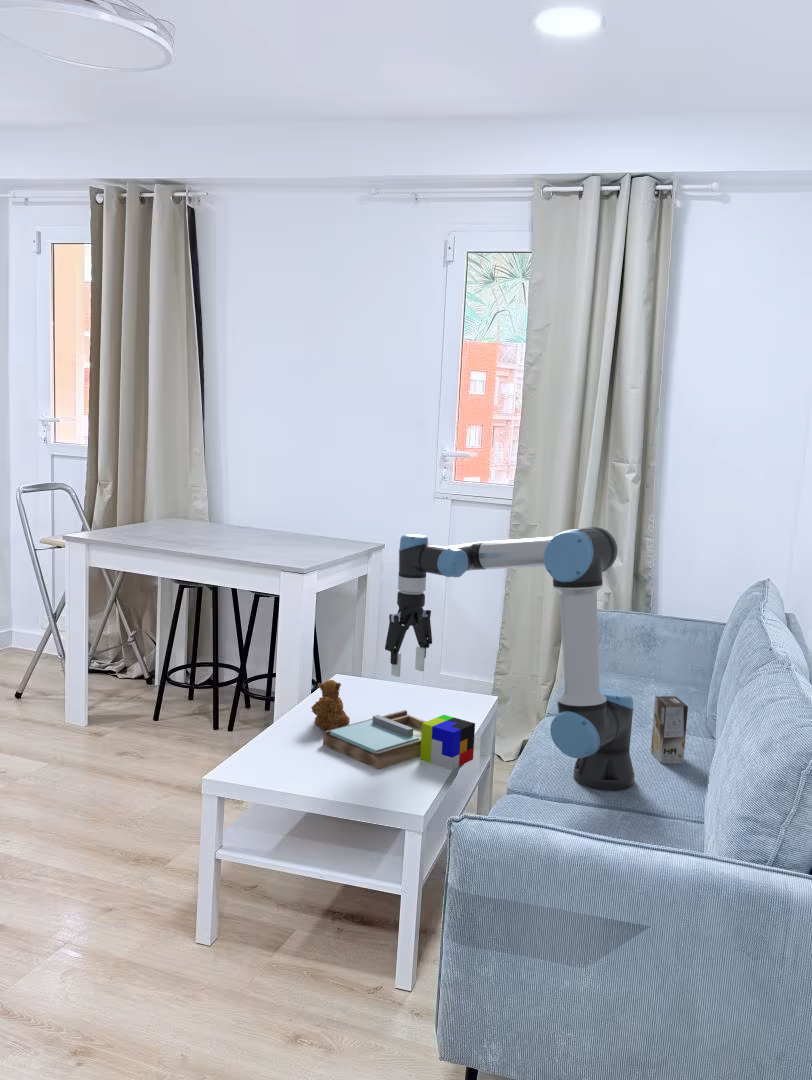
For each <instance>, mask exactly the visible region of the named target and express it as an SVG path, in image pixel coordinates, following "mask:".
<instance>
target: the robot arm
mask: <svg viewBox="0 0 812 1080" xmlns="http://www.w3.org/2000/svg"><path fill="white" fill-rule="evenodd" d="M617 557H618V544H617V541H616V539H615V537H614V536H613V534H611V533H610V532H609V531H608V530H607V529H605V528H601V527H598V526H588V527H583V528H581V527H580V528H576V529H575V528H574V529H567V530H564V531H562V532H560V533H558V534H555V535H554V536H545V537H534V538H533V537H532V538H531V537H530V538H520V539H519V538H517V539H505V540H503V539H501V540H490V541H489V540H488V541H479V540H478V541H476V540H475V541H469V542H466V543H459V544H453V545H447V546H443V545H435V544H430V543H429V539H428V536H427V535H424V534H418V533H417V534H416V533H409V534H407V533H406V534H403V535H402V536H401V537H400V540H399V549H398V578H397V590H398V592H397V595H396V597H397V599H396V601H397V602H396V604H397V606H398V610H397V613H395V614H393V613H390V614H389V615H388V617H389V619H388V620H389V623H388V624H389V625H388V628H387V636H386V640H385V646H384V650H385V651H388V652H390V658H389V659H390V660H389V661H390V662H389V663H390V664H391V671H390V672H391V673H390V675H391V676H394V677H396V678H400V677H401V668H402V667H401V663H402V652H400V649H401V646H402V644H403V641H404V638H405V636H406V633H407V631H408V630H409V629H410V627H413V631H414V634H415V638H416V641H417V644H418V645H417V646H415V647H416V648H415V665H414V670H416V671H419V672H424V671H425V659H426V657H427V649H429V648H430V646H431V645H432V644H433V636H432V625H431V614H432V610H431V609H427V608H424V607H425V603H426V593H425V591H426V590H427V589H426V586H427V584H426V583H427V573H428V574H431V575H432V574H434V575H438V576H444V577H447V578H460V577H462V576H463V574H464V573H466V572H467V571H480V570H495V569H496V570H497V569H499V570H500V569H519V568H521V569H523V568H542V567H544V568H545V570H546V572H548V574H549V575H550V577H551V578H552V585H553V586H552V587H553V589H555V590H556V591H557V592H558V593H559V599H560V600H559V601H560V602H559V603H560V604H559V605H560V630H561V655H562V656H561V657H562V658H561V659H562V660H561V661H562V684H563V685H562V686H563V687H562V688H563V691H562V693H561V694H560V695H559V696H558V698H557V714H556V715H555V716H554V718H553V719H552V721H551V723H550V726H549V727H550V728H549V729H550V730H549V732H550V737H551V740H552V741H553V745H555V747H556V748H557V749H558V750H560V752H561V753H562V754H564V755H565V756H567V757H570V758H573V759H576V761H575V763H574V766H573V779H574V780H575V781H576V782H578V783H579V784H582V785H583V786H586V787H588V788H592V789H597V790H602V791H623V790H627V789H630V788H631V787H633V786H634V785H635V771H634V767H633V763H632V759H631V755H630V747H631V735H632V723H633V715H634V714H633V713H634V710H635V709H634V699H633V696H631V695H630V694H628V693H626V692H624V691H620V690H615V689H611V688H603V687H600V662H599V660H600V659H599V632H598V625H599V624H598V603H597V602H598V600H597V593H598V591H599V590H600V589H601V588H602V587H603V582H604V581H603V573H604V572H606V571H608V570H609V569H610V568H611V567H613V566H614V563H615V562H616V560H617Z"/></svg>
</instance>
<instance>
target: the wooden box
mask: <svg viewBox="0 0 812 1080" xmlns="http://www.w3.org/2000/svg"><path fill="white" fill-rule="evenodd" d="M381 716H382V717H385V718H388V719H390V720H393V721H395V722H398V723H401V724H403V725H406V726H408V727H411V728H413V736H415V737H418V738H419V740H415V741H412V742H409V743H405V744H402V745H399V746H395V747H392V748H389V749H385V750H382V751H378V752H375V754H374V753H372V752H369V751H367V750H365V749H362V748H360V747H358V746H355V745H353V744H351V743H348V742H346V741H344V740H341V739H339V738H337V737H334V736H332V735H330V731H331V730H335V729H339V728H343V727H347V726H350V725H354V724H358V723H362V722H366V721H369V720H373V718H369V719H367V720H362V721H359V722H355V723H351V724H348V725H346V726H343V727H339V728H335V729H331V730H327V731H324V734H322V735H323V736H322V737H323V738H322V742H323V743H322V745H323V746H325V747H327V748H329V749H331V750H334V751H336V752H338V753H340V754H343V755H345V756H347V757H350V758H352V759H354V760H356V761H358V762H360V763H362V764H364V765H367V766H369V767H372V768H374V769H377V770H381V769H383V768H386V767H389V766H393V765H396V764H400V763H403V762H407V761H409V760H412V759H416V758H419V757H420V754H421V733H422V723H424V722H427V721H426V720H423V719H421V718H418V717H415V716H412V715H411V714H408V711H407V710H405V709H403V710H400V711H396V712H393V713H388V714H386V715H385V714H384V715H381Z"/></svg>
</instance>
